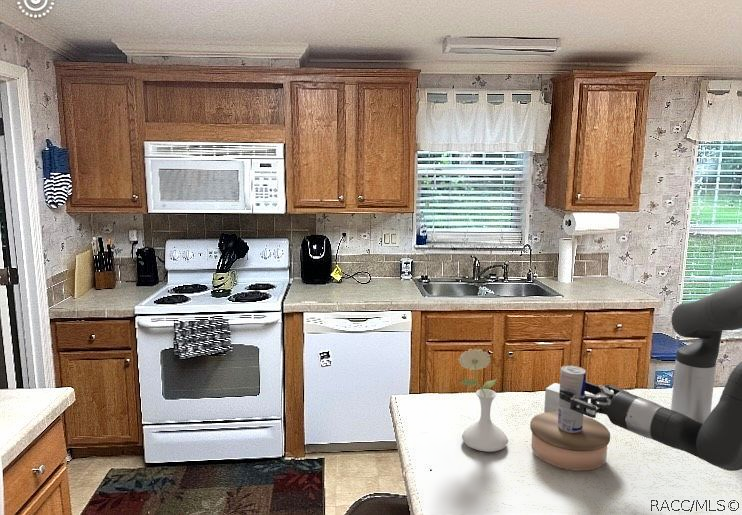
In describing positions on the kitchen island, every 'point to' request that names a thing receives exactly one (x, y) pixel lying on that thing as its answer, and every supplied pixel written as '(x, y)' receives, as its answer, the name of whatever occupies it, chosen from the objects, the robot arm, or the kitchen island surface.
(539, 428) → the lidded bowl
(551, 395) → the product box
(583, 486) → the kitchen island surface
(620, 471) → the kitchen island surface
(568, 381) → the beverage can
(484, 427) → the flower in vase
